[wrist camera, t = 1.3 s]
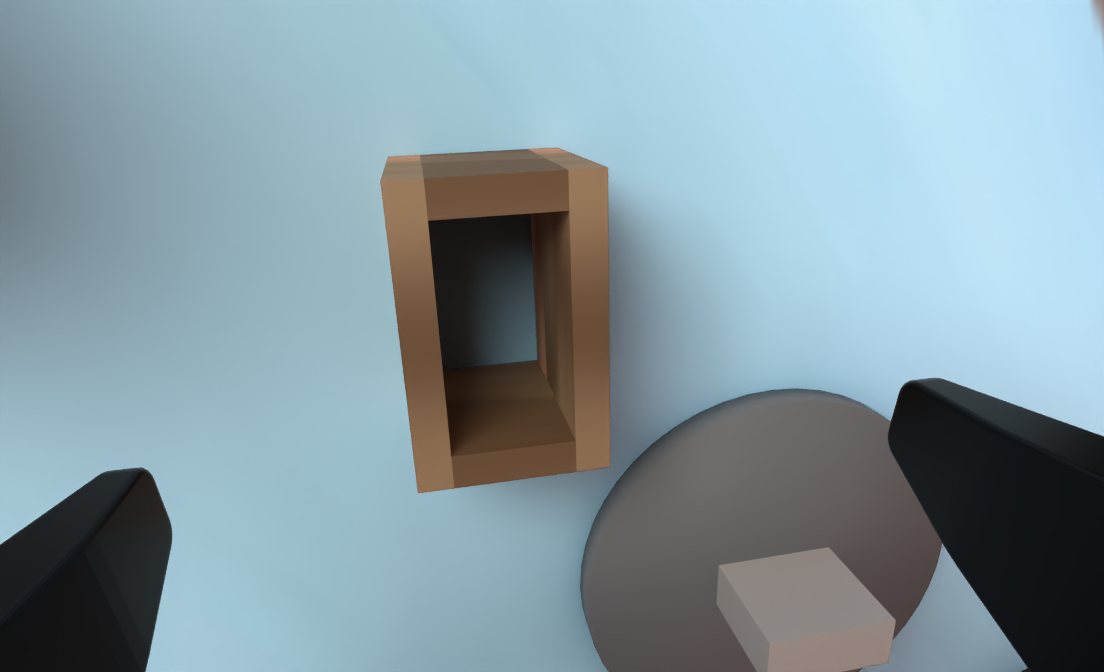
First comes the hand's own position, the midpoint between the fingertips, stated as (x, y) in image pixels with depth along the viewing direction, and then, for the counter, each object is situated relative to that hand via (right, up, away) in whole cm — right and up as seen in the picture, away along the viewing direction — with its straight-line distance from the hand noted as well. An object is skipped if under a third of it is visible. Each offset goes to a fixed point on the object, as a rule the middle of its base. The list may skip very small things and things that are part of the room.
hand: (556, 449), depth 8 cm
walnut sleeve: (-2, +3, +11) cm, 11 cm away
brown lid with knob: (+7, -6, +16) cm, 19 cm away
